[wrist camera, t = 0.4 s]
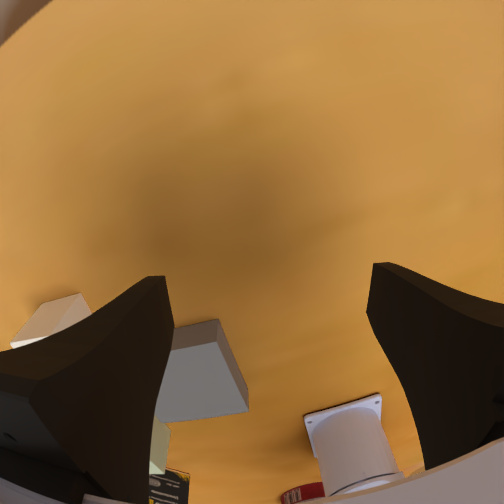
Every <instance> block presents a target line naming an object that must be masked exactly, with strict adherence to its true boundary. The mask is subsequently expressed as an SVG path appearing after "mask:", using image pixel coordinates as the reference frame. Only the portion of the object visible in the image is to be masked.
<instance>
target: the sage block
mask: <svg viewBox="0 0 504 504" xmlns="http://www.w3.org/2000/svg"><path fill="white" fill-rule="evenodd" d="M170 434H171V430H170V429H169V428H168V427H167V425H166V424H165V423H161V422H160V421H159V420H158V418H157V417H156V416H155V414H154V421H153V429H152V439H151V451H150V468H149V474H165V468H166V461H167V454H168V447H169V441H170Z"/></svg>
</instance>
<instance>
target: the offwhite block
mask: <svg viewBox="0 0 504 504" xmlns="http://www.w3.org/2000/svg"><path fill="white" fill-rule="evenodd" d="M91 314H92V312H91V311H90V309H89V307H88V305H87V303H86V301H85V299H84V298H83V296H82V294H81V293H78V294H75V295H71V296H68V297H64V298H60V299H57V300H53V301H50V302H46V303H42V304H41V306H40V307H39V308H38V309H37V310H36V311H35V313H34V314H33V315H32V316H31V317H30V319H29V320H28V321H27V322H26V323H25V325H24V326H23V327H22V328H21V329H20V331H19V332H18V333H17V334H16V336H15V337H14V338H13V339H12V341H11V342H10V344H11V345H12V347H13V348H17V347H20V346H24V345H27V344H30V343H33V342H35V341H38V340H41V339H43V338H45V337H48V336H50V335H52V334H55V333H57V332H59V331H62V330H64V329H66V328H68V327H70V326H72V325H73V324H75V323H77V322H79V321H81V320H83V319H84V318H86V317H88V316H89V315H91Z"/></svg>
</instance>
